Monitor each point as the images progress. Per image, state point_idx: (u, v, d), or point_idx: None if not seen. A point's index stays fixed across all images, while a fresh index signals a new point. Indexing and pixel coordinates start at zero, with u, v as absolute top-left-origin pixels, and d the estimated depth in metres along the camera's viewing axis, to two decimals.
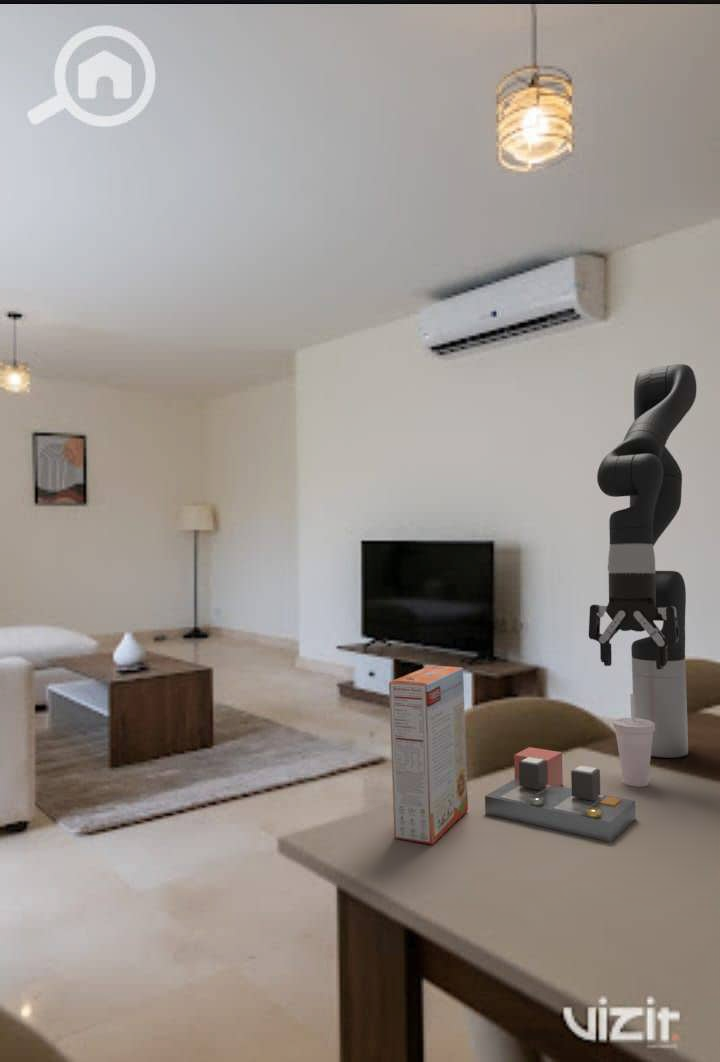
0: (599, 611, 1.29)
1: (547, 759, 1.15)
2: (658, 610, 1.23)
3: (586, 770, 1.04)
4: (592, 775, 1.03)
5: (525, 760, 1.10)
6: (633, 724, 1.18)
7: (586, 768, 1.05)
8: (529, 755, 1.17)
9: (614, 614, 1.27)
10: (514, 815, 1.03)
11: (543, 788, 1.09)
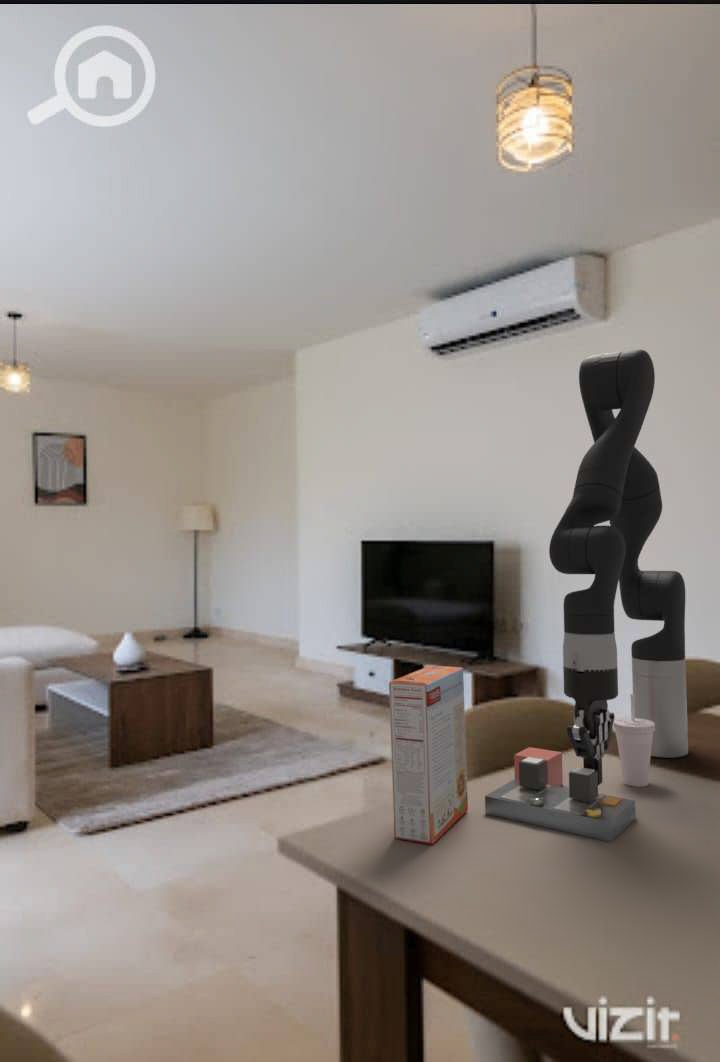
0: None
1: (547, 759, 1.15)
2: None
3: (584, 771, 1.04)
4: (590, 777, 1.03)
5: (525, 760, 1.10)
6: (633, 724, 1.18)
7: (584, 769, 1.05)
8: (529, 755, 1.17)
9: (592, 719, 1.05)
10: (514, 815, 1.03)
11: (543, 788, 1.09)
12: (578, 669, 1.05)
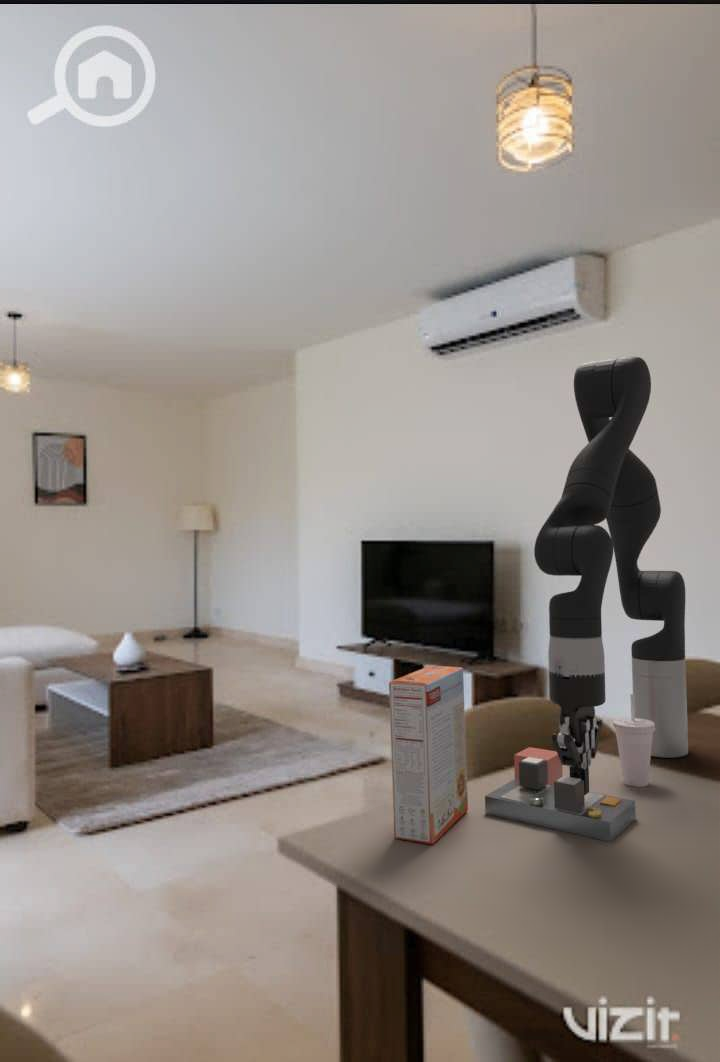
0: None
1: (547, 759, 1.15)
2: None
3: (569, 781, 1.00)
4: (575, 786, 0.98)
5: (525, 760, 1.10)
6: (633, 724, 1.18)
7: (570, 779, 1.01)
8: (529, 755, 1.17)
9: (578, 726, 1.01)
10: (514, 815, 1.03)
11: (543, 788, 1.09)
12: (564, 674, 1.01)
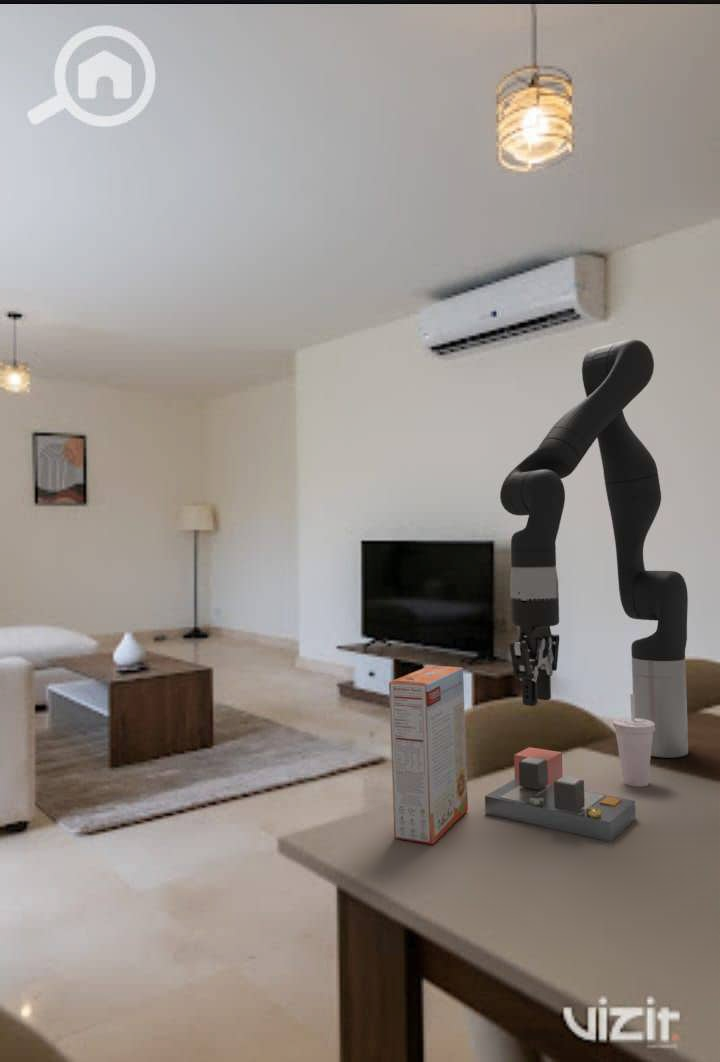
0: None
1: (547, 759, 1.15)
2: None
3: (569, 781, 1.00)
4: (575, 786, 0.98)
5: (525, 760, 1.10)
6: (633, 724, 1.18)
7: (569, 779, 1.01)
8: (529, 755, 1.17)
9: (534, 643, 1.16)
10: (514, 815, 1.03)
11: (543, 788, 1.09)
12: (522, 598, 1.16)
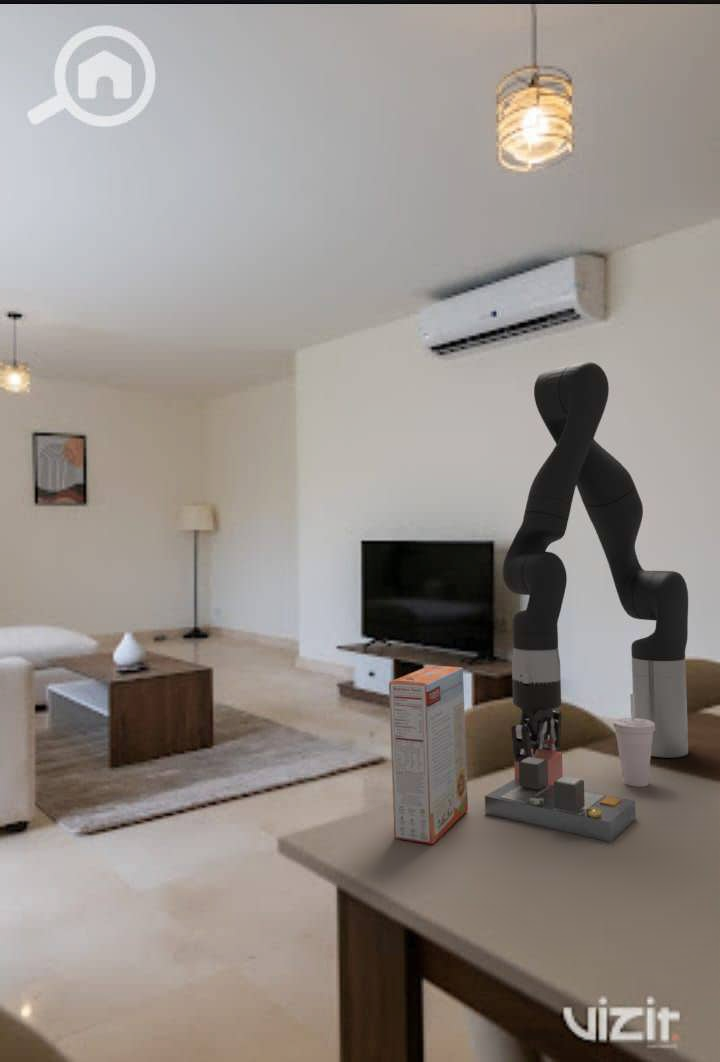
0: None
1: (547, 759, 1.15)
2: None
3: (569, 781, 1.00)
4: (575, 786, 0.98)
5: (525, 760, 1.10)
6: (633, 724, 1.18)
7: (569, 779, 1.01)
8: None
9: (536, 727, 1.16)
10: (514, 815, 1.03)
11: (543, 788, 1.09)
12: (524, 681, 1.16)
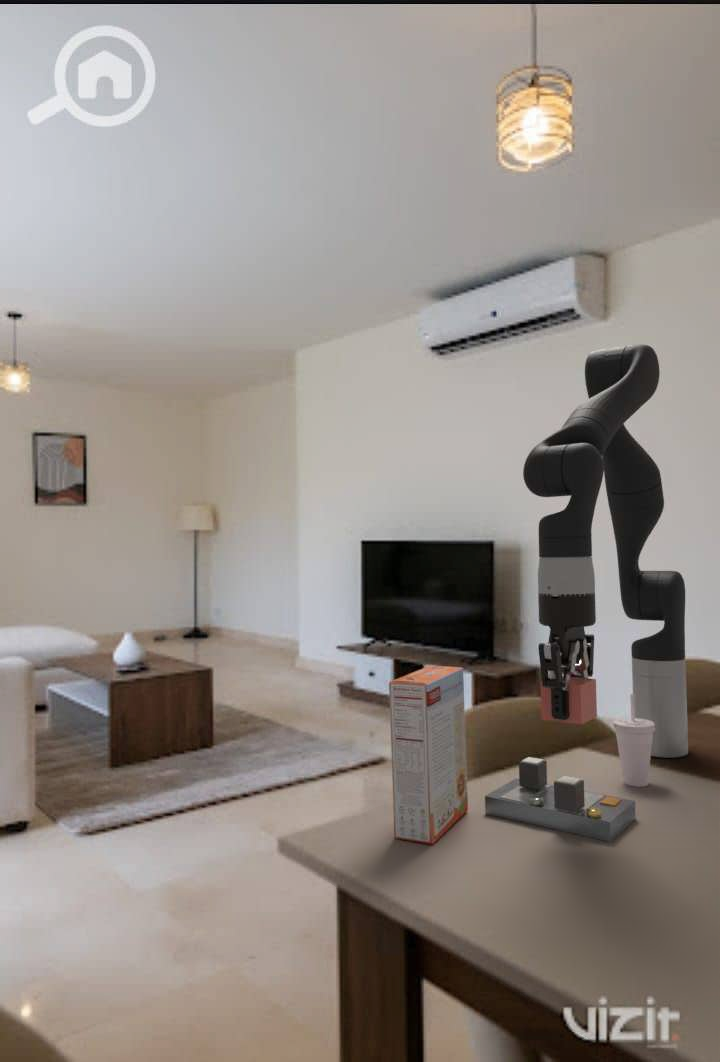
0: None
1: (580, 684, 0.98)
2: None
3: (569, 781, 1.00)
4: (575, 786, 0.98)
5: (525, 760, 1.10)
6: (633, 724, 1.18)
7: (569, 779, 1.01)
8: None
9: (567, 647, 0.99)
10: (514, 815, 1.03)
11: (543, 788, 1.09)
12: (553, 594, 0.99)
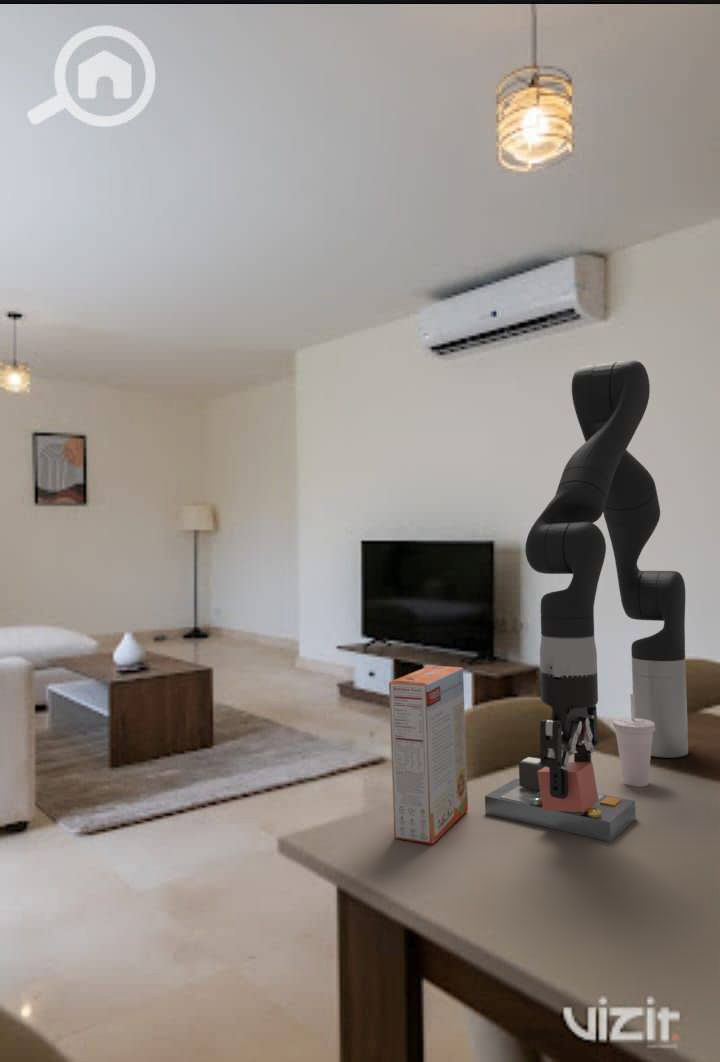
0: None
1: (576, 771, 0.98)
2: None
3: None
4: None
5: (525, 760, 1.10)
6: (633, 724, 1.18)
7: None
8: None
9: (570, 728, 0.98)
10: (514, 815, 1.03)
11: None
12: (555, 675, 0.99)
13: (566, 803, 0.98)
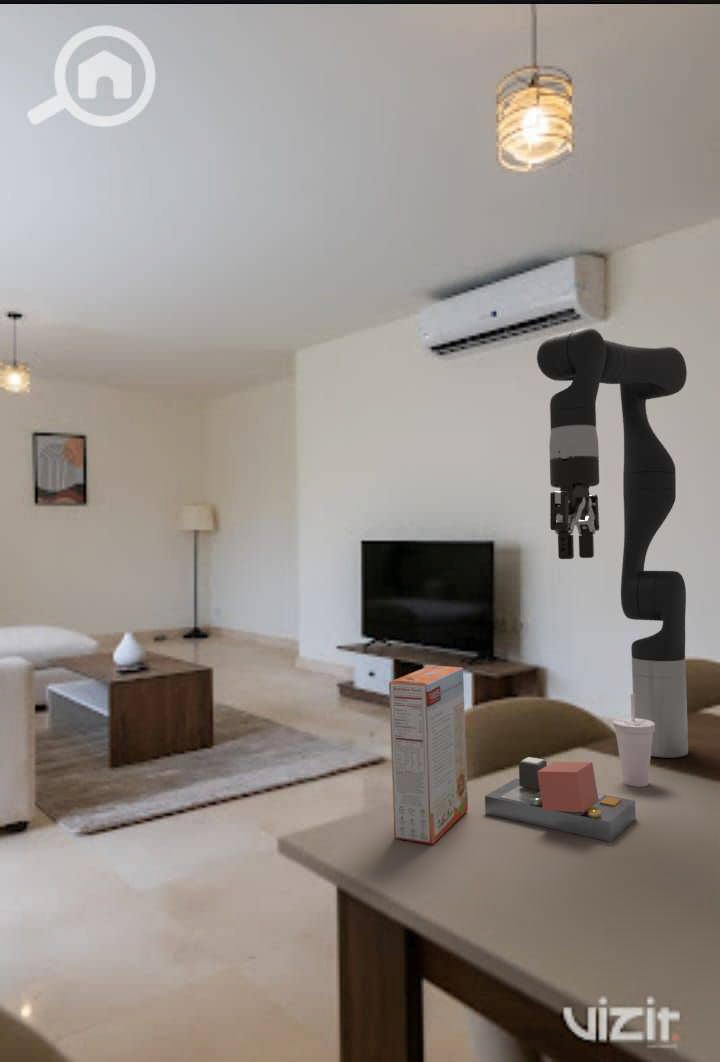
0: None
1: (576, 771, 0.98)
2: None
3: None
4: None
5: (525, 760, 1.10)
6: (633, 724, 1.18)
7: None
8: (554, 769, 1.00)
9: (575, 501, 1.16)
10: (514, 815, 1.03)
11: None
12: (563, 457, 1.16)
13: (566, 803, 0.98)
